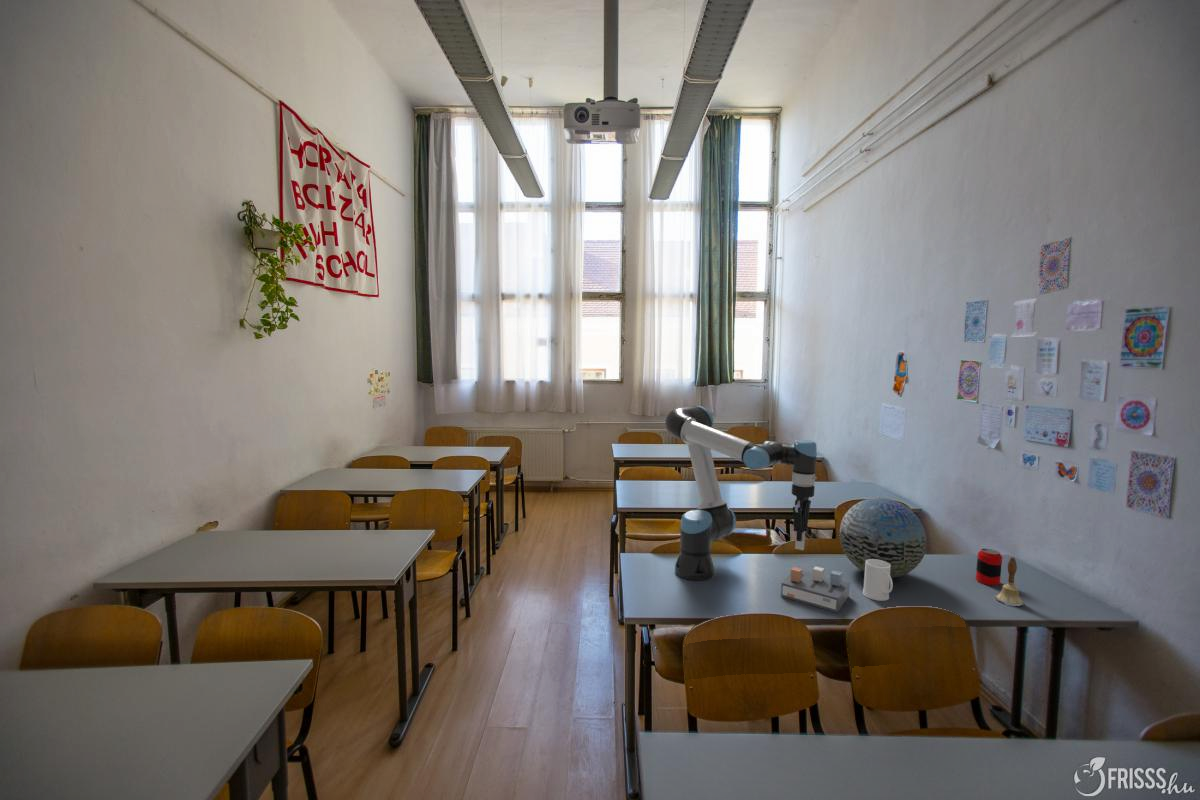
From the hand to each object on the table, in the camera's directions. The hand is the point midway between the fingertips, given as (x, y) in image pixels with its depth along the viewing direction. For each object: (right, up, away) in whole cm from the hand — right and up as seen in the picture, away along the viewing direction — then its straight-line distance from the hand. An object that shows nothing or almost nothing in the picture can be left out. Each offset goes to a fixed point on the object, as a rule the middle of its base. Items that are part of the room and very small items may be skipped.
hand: (799, 548), depth 200 cm
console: (+5, -17, -2) cm, 17 cm away
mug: (+27, -17, -2) cm, 32 cm away
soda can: (+76, -16, +13) cm, 79 cm away
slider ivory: (+7, -11, 0) cm, 13 cm away
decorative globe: (+37, -15, +18) cm, 44 cm away
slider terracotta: (-2, -11, -1) cm, 11 cm away
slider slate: (+11, -11, -3) cm, 17 cm away
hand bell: (+73, -18, -3) cm, 75 cm away
